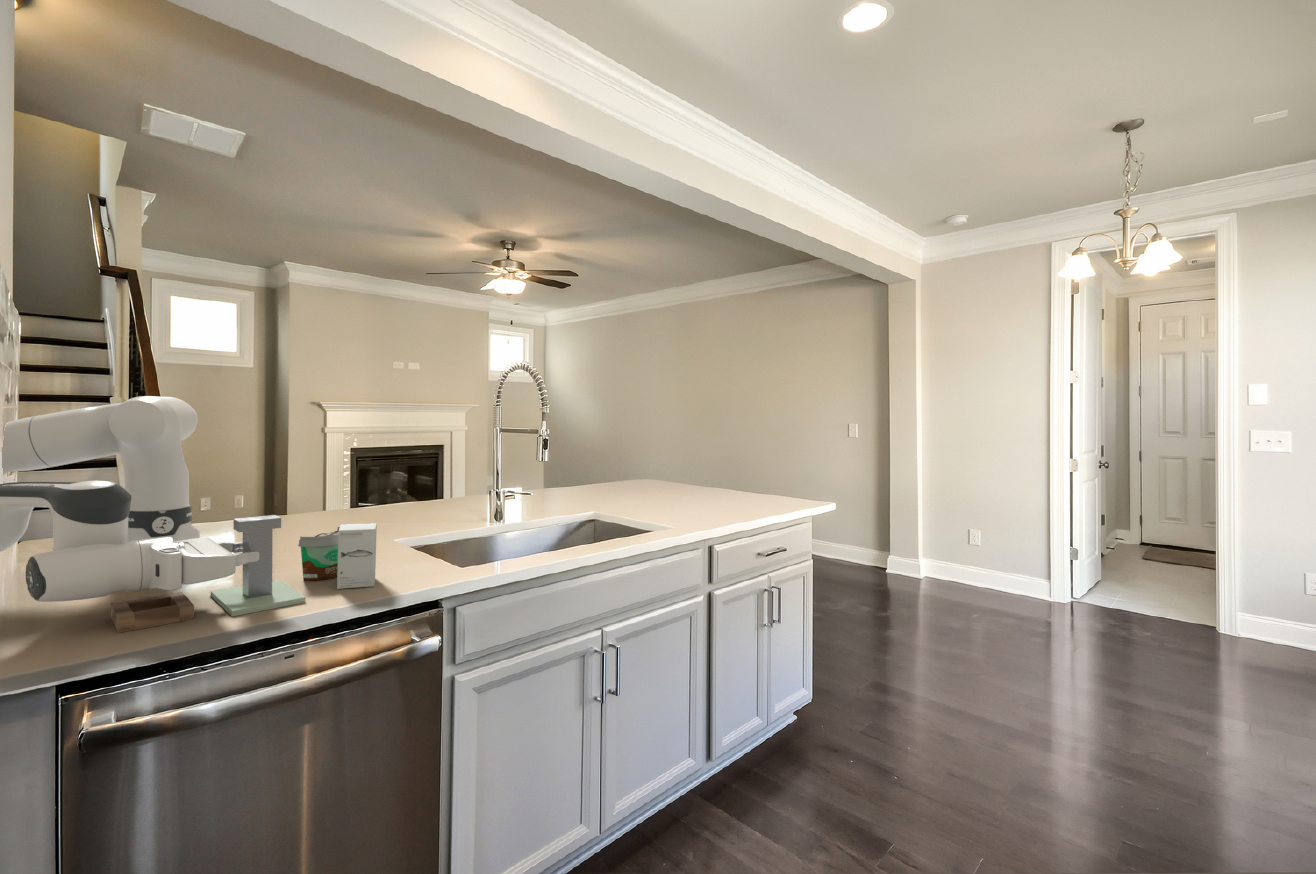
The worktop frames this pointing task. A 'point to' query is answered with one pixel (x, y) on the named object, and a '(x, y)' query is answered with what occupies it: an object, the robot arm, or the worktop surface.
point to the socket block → (151, 611)
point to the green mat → (256, 599)
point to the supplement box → (356, 555)
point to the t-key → (259, 540)
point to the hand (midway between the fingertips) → (250, 550)
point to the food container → (320, 556)
